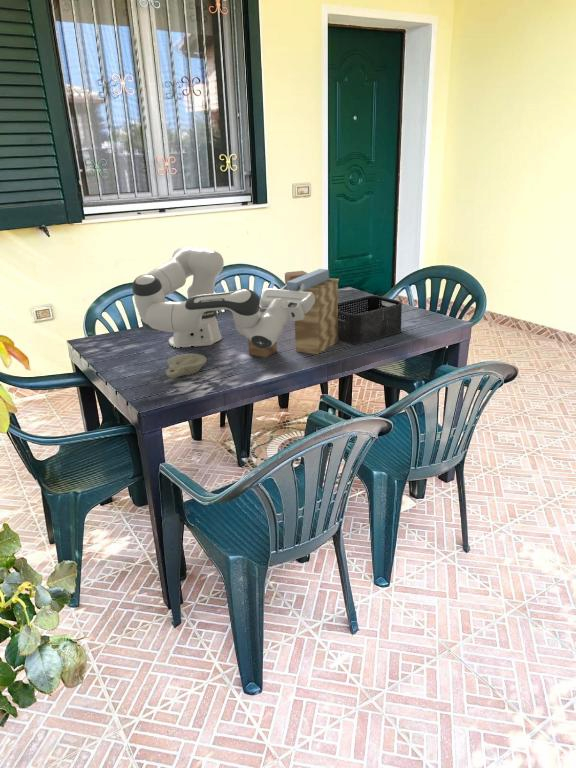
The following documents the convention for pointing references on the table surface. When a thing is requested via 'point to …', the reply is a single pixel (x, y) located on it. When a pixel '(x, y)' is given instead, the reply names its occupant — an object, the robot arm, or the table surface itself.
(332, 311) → the oak stand
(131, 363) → the table surface
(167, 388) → the table surface
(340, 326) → the storage bin
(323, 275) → the blue bar
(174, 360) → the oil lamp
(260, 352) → the walnut block
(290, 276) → the block
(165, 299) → the robot arm
